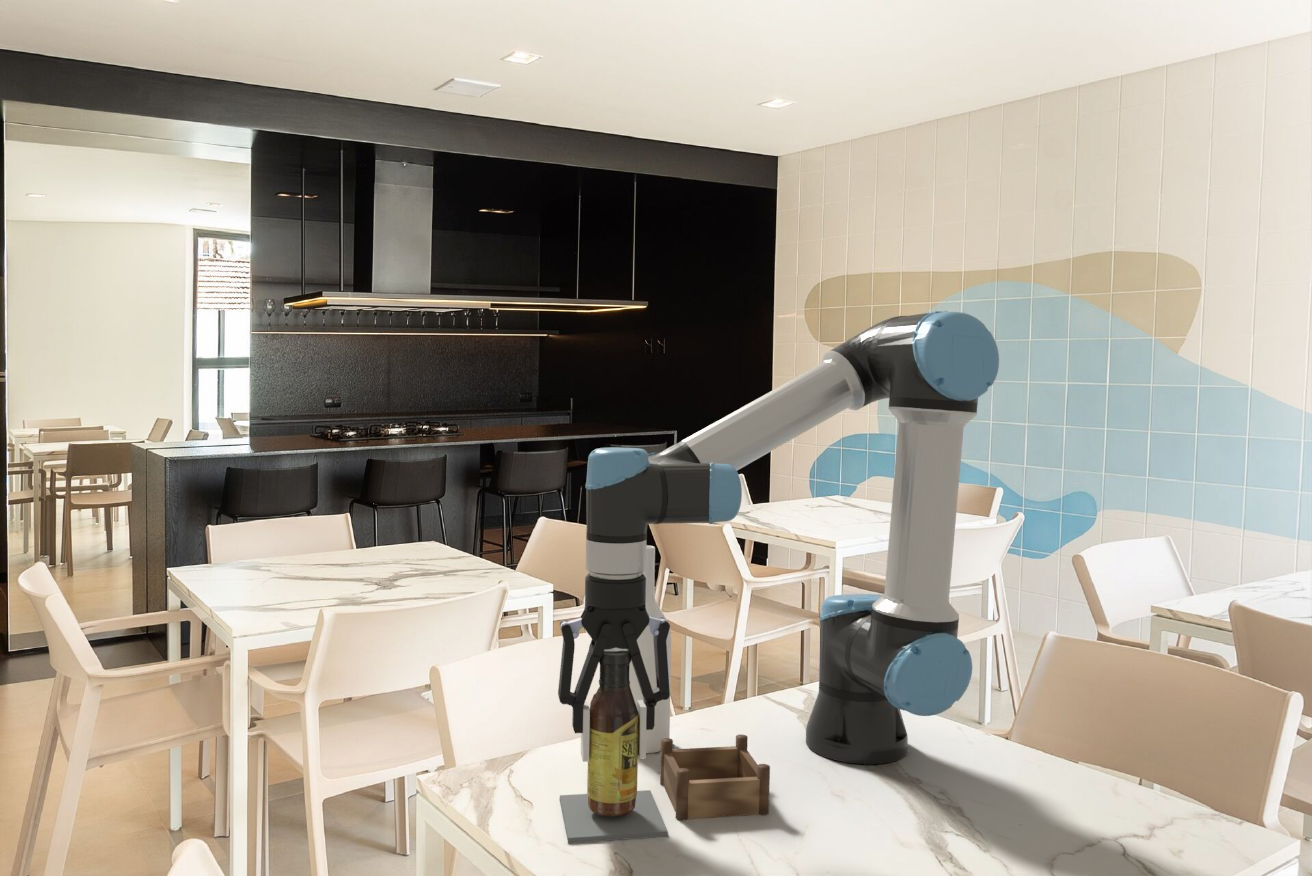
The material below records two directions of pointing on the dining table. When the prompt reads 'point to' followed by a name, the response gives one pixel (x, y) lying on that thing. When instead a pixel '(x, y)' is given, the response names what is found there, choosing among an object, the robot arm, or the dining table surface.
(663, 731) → the bottle
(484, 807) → the dining table surface
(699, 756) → the corner post wooden tray
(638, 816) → the mat
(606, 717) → the sauce bottle
